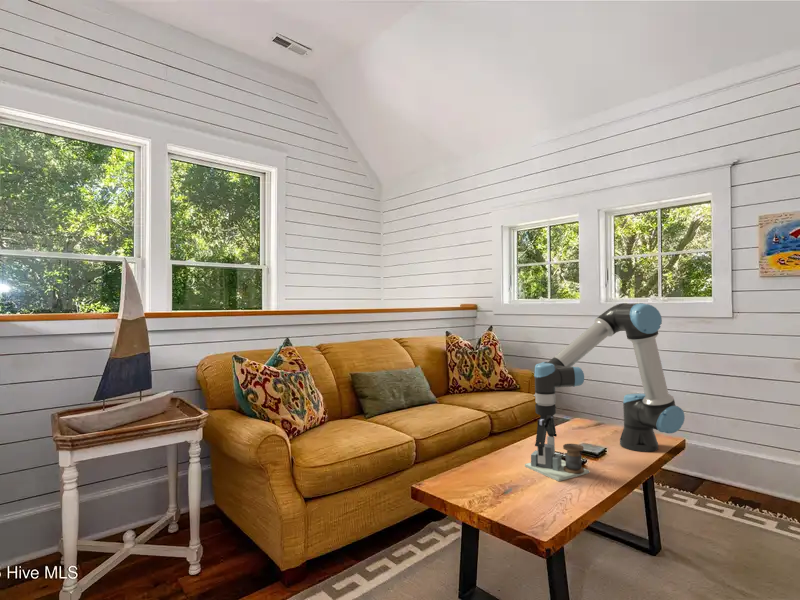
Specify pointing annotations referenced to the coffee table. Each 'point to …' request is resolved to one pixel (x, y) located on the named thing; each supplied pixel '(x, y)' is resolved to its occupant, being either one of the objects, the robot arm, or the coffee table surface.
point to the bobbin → (573, 458)
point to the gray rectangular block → (548, 456)
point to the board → (555, 472)
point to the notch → (556, 460)
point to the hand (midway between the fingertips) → (546, 458)
